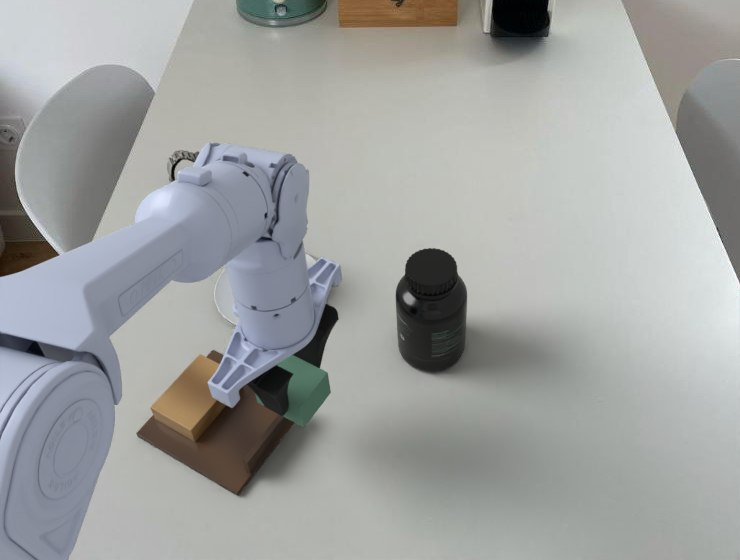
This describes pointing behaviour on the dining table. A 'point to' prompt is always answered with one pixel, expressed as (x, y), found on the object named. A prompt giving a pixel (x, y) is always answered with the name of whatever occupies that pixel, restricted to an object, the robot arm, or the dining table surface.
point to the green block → (304, 389)
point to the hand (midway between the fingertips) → (292, 387)
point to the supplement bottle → (431, 311)
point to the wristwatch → (177, 158)
